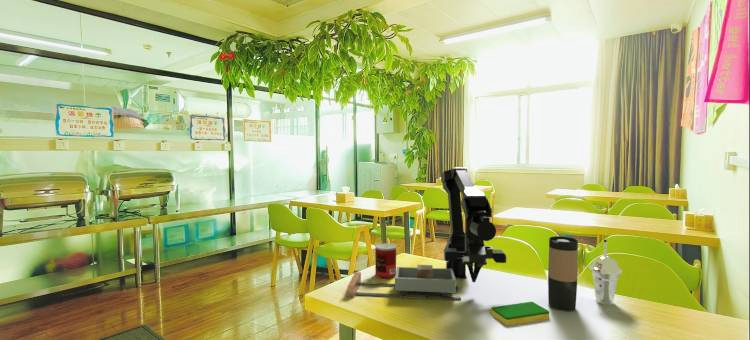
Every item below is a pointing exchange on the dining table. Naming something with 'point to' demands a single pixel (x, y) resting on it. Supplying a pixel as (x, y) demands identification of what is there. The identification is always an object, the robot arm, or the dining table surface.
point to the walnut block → (425, 271)
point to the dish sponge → (520, 313)
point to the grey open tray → (425, 281)
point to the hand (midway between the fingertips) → (473, 281)
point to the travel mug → (562, 273)
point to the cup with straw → (605, 277)
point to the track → (357, 282)
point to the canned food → (385, 261)
